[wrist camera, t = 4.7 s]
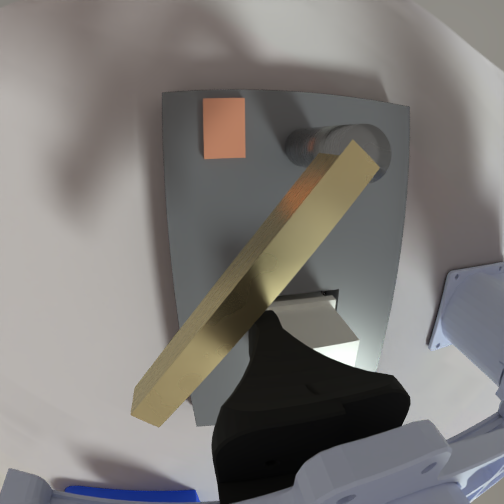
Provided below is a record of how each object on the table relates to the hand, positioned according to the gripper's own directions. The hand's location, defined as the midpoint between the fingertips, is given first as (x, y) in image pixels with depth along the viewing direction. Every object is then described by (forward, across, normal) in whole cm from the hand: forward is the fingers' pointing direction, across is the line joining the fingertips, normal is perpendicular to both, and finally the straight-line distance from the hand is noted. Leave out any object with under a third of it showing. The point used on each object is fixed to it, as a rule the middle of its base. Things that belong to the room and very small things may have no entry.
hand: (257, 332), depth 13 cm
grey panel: (+8, -3, +1) cm, 8 cm away
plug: (+8, -3, +5) cm, 10 cm away
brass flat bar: (+5, +1, -2) cm, 6 cm away
